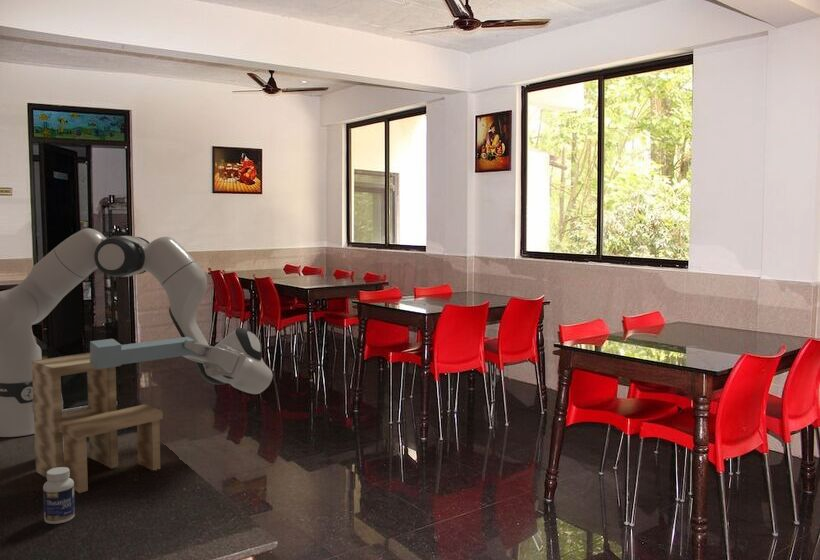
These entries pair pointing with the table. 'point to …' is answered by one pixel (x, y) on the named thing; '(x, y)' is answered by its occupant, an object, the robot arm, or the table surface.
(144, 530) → the table surface
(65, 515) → the pill bottle
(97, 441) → the tall stand
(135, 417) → the bench
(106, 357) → the rail
